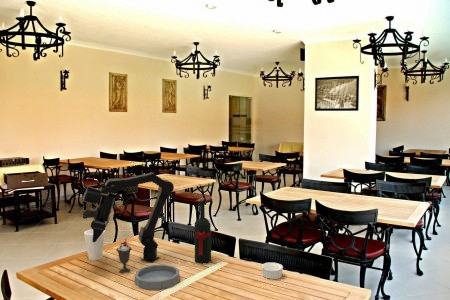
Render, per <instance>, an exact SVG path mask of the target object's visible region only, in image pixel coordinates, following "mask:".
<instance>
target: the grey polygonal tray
mask: <svg viewBox="0 0 450 300" xmlns="http://www.w3.org/2000/svg"><path fill="white" fill-rule="evenodd" d="M180 276H181V275H180V269H179V268H178V267H176V266H175V265H170V264H152V265H148V266H144V267H141V268H140V269H138V270H136V271H135V273H134V284H135V285H136V286H137V287H138V288H139V289H143V290H148V291H152V290H153V291H157V290H165V289H168V288H172V287H174V286H175V285H177V284H178V283H179V282H180Z"/></svg>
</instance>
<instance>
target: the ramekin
mask: <svg viewBox="0 0 450 300" xmlns="http://www.w3.org/2000/svg"><path fill="white" fill-rule="evenodd" d="M261 269H262V277H263V278H265V277H266V278H265V279H267V278H270V279H269V280H272V279H274V280H278V279H277V278H279V279H281V278H282V275H283V269H284V266H283V265H282V264H281V263H277V262H265V263H263V264H262V265H261ZM280 277H281V278H280Z"/></svg>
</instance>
